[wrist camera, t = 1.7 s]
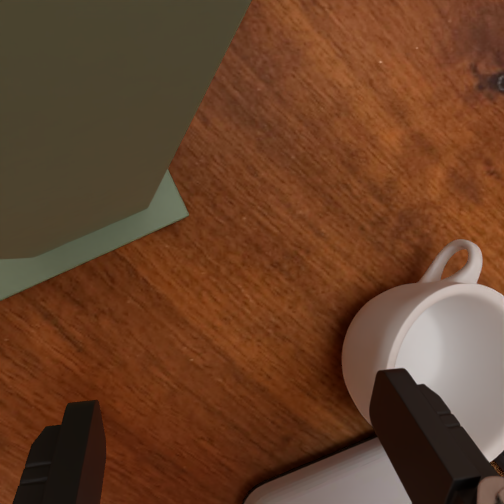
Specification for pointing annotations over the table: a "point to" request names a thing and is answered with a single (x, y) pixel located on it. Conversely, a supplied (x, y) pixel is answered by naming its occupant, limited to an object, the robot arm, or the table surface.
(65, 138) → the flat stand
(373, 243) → the table surface
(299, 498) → the grey smart device
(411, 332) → the teacup
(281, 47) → the table surface
